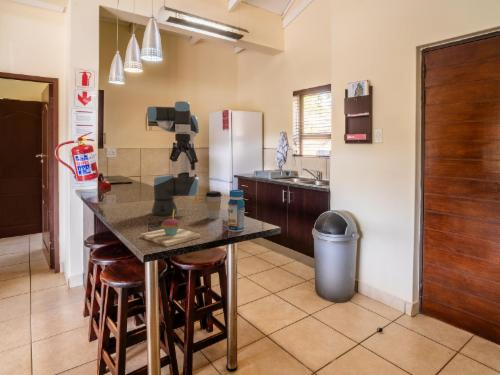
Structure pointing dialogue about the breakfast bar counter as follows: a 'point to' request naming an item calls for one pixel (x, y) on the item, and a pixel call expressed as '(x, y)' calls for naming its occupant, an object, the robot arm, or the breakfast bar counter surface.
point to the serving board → (170, 237)
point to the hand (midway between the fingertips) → (183, 175)
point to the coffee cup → (213, 204)
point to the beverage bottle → (236, 211)
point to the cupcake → (171, 226)
